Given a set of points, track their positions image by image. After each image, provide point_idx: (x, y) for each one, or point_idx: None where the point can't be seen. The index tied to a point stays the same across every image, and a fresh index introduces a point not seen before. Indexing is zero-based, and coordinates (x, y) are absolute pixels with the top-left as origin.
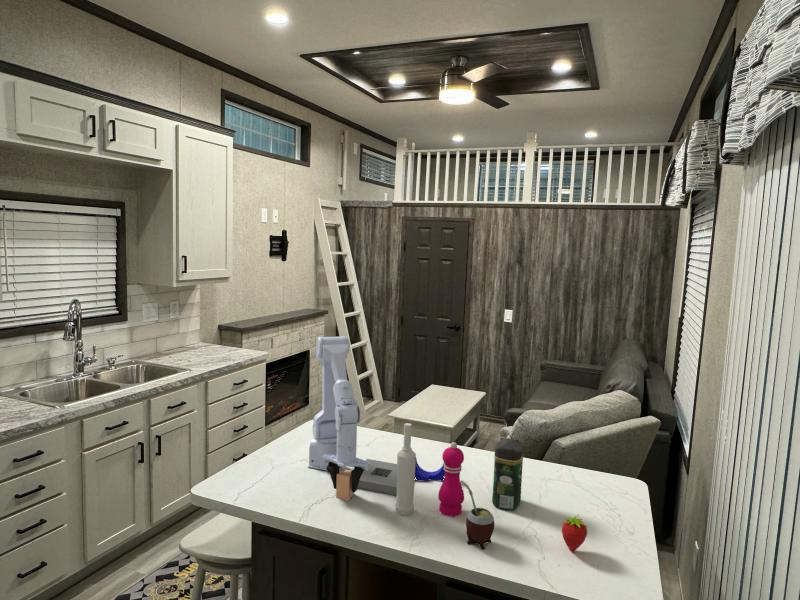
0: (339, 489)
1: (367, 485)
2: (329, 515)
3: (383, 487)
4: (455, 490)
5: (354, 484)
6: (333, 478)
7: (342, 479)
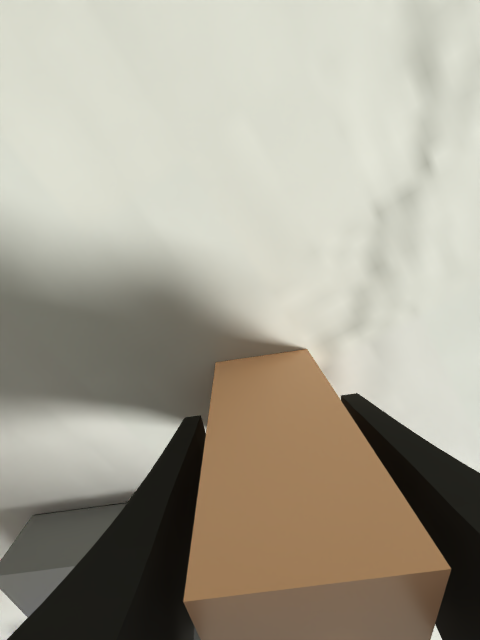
0: (300, 390)
1: None
2: (189, 45)
3: (88, 543)
4: None
5: (145, 483)
6: (436, 471)
7: (300, 497)
